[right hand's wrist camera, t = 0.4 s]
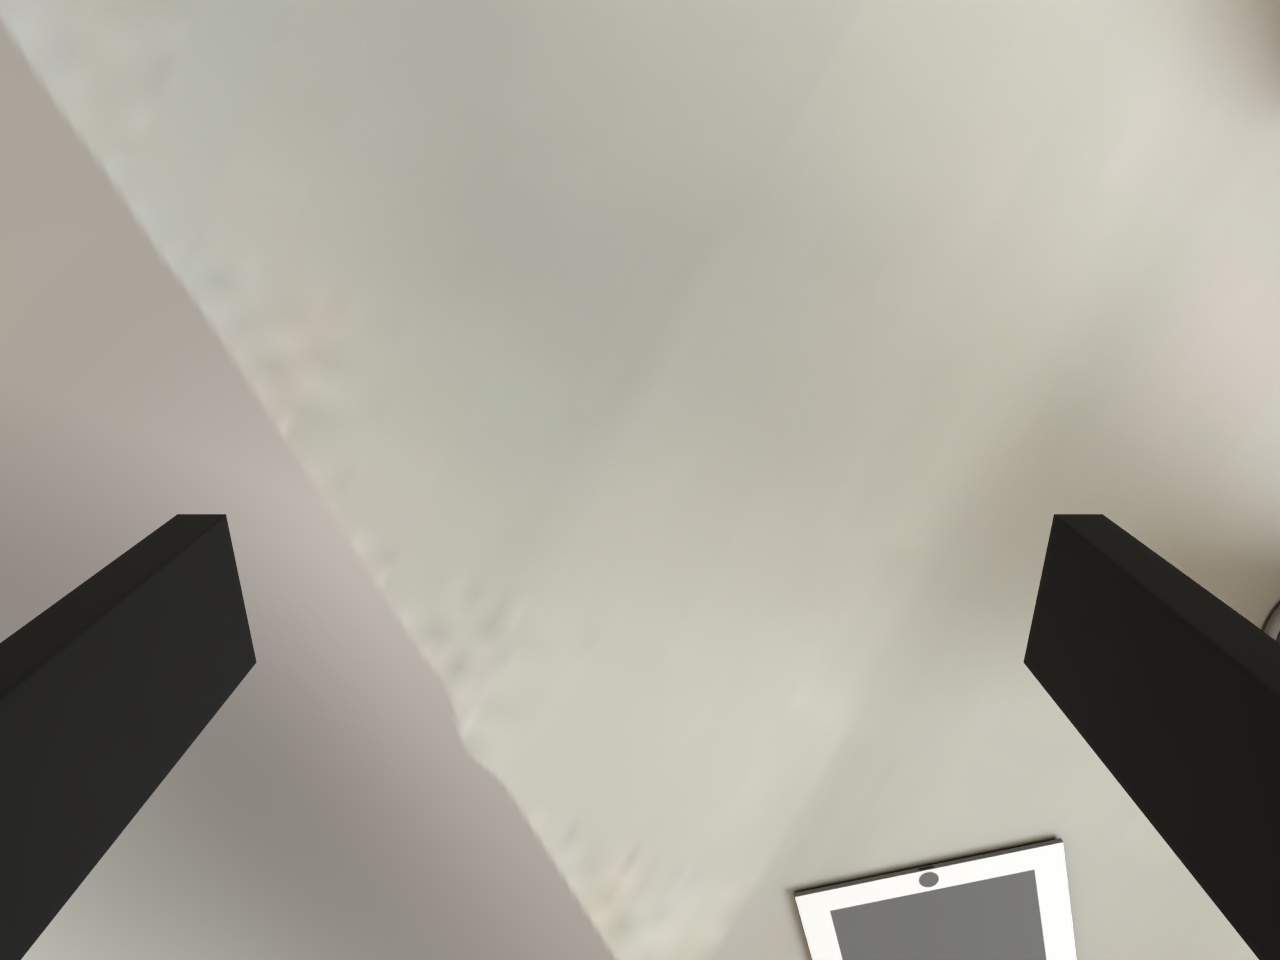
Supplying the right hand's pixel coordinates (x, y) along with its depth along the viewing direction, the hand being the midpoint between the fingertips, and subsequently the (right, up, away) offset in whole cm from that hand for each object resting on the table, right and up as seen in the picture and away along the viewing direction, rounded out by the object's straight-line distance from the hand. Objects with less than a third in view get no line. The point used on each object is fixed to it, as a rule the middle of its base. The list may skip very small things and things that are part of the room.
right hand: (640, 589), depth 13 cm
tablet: (+26, -42, +52) cm, 71 cm away
